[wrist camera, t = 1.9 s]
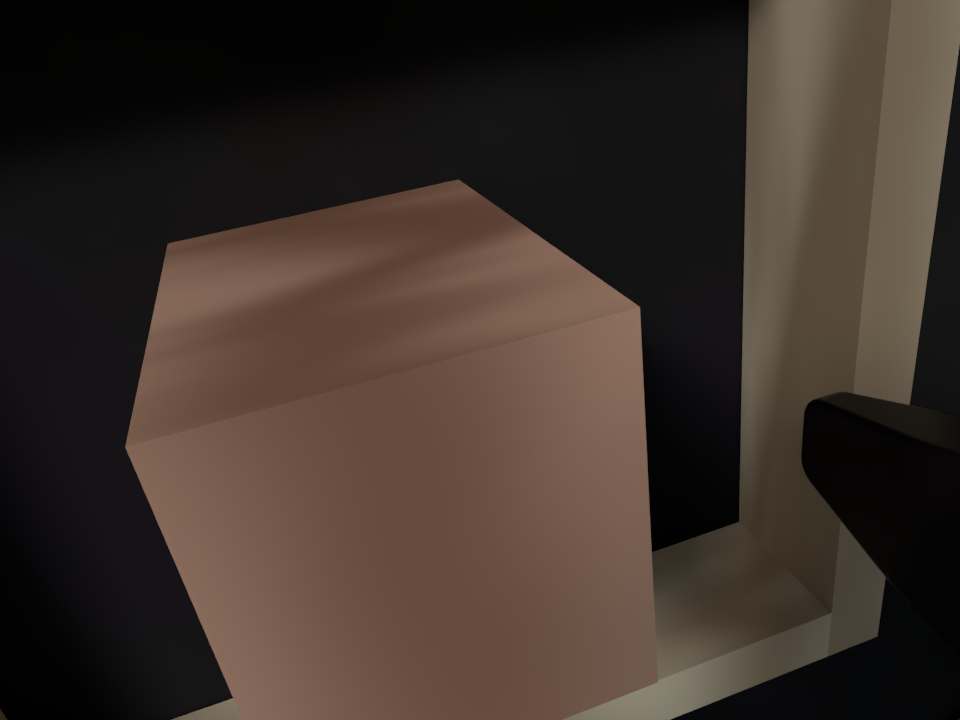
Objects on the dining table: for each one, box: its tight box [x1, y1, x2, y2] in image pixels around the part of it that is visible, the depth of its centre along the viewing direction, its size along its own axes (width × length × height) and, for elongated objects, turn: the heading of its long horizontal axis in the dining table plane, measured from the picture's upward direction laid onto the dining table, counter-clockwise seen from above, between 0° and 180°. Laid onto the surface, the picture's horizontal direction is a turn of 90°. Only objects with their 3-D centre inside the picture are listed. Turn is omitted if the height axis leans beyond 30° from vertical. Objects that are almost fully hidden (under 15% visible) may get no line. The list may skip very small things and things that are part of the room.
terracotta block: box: [125, 180, 658, 720], centre depth 10 cm, size 4×5×6 cm
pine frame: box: [0, 0, 960, 720], centre depth 11 cm, size 17×15×3 cm
